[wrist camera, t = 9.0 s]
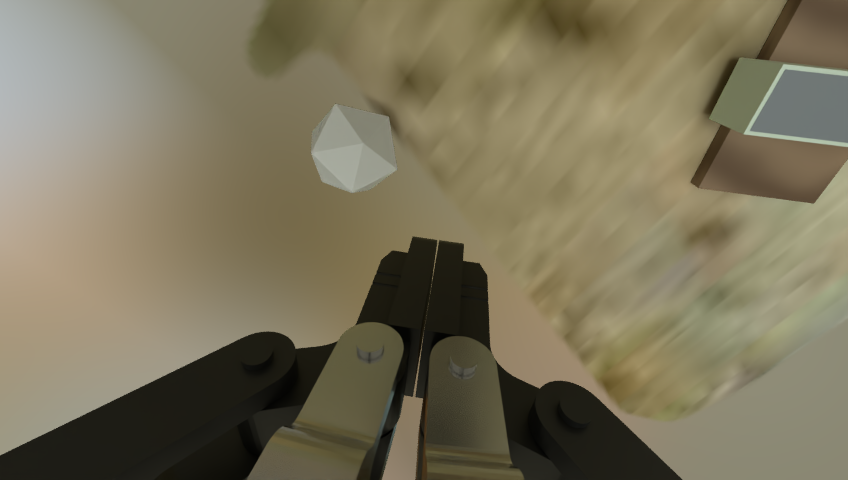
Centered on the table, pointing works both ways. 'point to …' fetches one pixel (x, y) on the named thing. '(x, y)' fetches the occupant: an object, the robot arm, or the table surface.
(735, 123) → the sage block
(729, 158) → the board
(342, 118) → the die
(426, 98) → the table surface
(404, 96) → the table surface
